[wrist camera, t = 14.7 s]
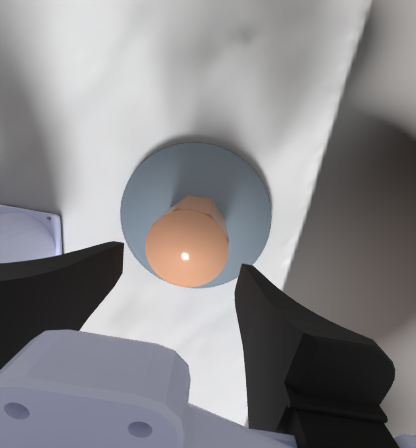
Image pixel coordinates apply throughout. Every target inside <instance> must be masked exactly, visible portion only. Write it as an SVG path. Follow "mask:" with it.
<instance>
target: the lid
mask: <svg viewBox="0 0 416 448" xmlns="http://www.w3.org/2000/svg"><path fill="white" fill-rule="evenodd" d="M187 195H193V196H198V197H204V198H209V199H212V201H213V202H214V203H215V205H216V206H217V208H218V209H219V211H220V212H221V213H222V215H223V216H224V218H225V223H226V228H227V233H228V238H229V243H228V258H227V262H226V264H225V267H224V268H223V270H222V271H221V273H220V274H219V275H218V276H217V277H216V278H215V279H213V280H212V281H210V282H208V283H206V284H204V285H201V286H197V287H187V288H208V287H214V286H218V285H222V284H224V283H227V282H229V281H231V280H233V279H235V278H237V277H238V276H239V272H240V268H241V265H242V264H248V265H253V264H254V263H255V262H256V260H257V259H258V257H259V256H260V255H261V253H262V251H263V249H264V247H265V245H266V243H267V240H268V237H269V233H270V228H271V207H270V202H269V197H268V195H267V192H266V189H265V187H264V185H263V183H262V181H261V179H260V178H259V177H258V175H257V174H256V172H255V171H254V170H253V169H252V168H251V167H250V166H249V165H248V164H247V163H246V162H245V161H244V160H243V159H241V158H240V157H239V156H237V155H236V154H234V153H232V152H230V151H229V150H226V149H224V148H221V147H219V146H215V145H211V144H206V143H182V144H176V145H173V146H170V147H167V148H164V149H162V150H160V151H158V152H156V153H154V154H153V155H151V156H150V157H149V158H147V159H146V160H145V161H144V162H143V163H142V164H141V165H139V167H138V168H137V169H136V170H135V172H134V173H133V174H132V176H131V178H130V179H129V181H128V183H127V185H126V188H125V190H124V193H123V197H122V201H121V210H120V213H121V225H122V230H123V234H124V237H125V240H126V242H127V244H128V247H129V248H130V250H131V252H132V253H133V255H134V256H135V257H136V259H137V260H138V261H139V262H140V263H141V264H142V265H143V266H144V267H145V268H146V269H147V270H148V271H149V272H151V273H152V274H153V275H155V276H157V277H158V278H160V277H159V276H158V275H157V274H156V273H155V272H154V270H153V269H152V268H151V266H150V264H149V262H148V260H147V257H146V251H145V243H146V238H147V235H148V233H149V231H150V226H152V225H153V224H154V223H155V222H156V221H157V220H158V219H159V218H160V217H161V216H162V215H163V214H164V213H165V212H166V211H167V210H168V209H169V208H170V207H172V206H173V205H174V204H176V203H177V202H179V201H180V200H181V199H183V198H184V197H186V196H187ZM160 279H162V278H160ZM162 280H163V279H162ZM164 281H165V280H164Z"/></svg>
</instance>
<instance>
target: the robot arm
mask: <svg viewBox="0 0 416 448" xmlns="http://www.w3.org/2000/svg"><path fill="white" fill-rule="evenodd" d="M49 217H51V219H50V218H49ZM123 252H124V243H121V242H115V241H112V242H107V243H103V244H99V245H96V246H92V247H89V248H85V249H82V250H78V251H74V252H70V253H66V254H62V243H61V222H60V217H59V216H58V215H56V214H51V213H46V212H40V211H34V210H29V209H23V208H17V207H11V206H6V205H0V448H416V435H410V434H398V435H395V436H393V437H392V435H391V434H390V432H389V431H388V429H387V428H386V426H385V424H384V423H386V422H387V421H388V419H387V416H386V415H385V413H384V412H383V410H382V409H381V408H380V406H379V405H380V404H381V402H382V400H383V399H384V397H385V396H386V394H387V392H388V391H389V389H390V388H391V386H392V384H393V381H394V378H395V368H394V364H393V362H392V361H391V360H390V358H389V357H388V356H387V355H386V354H385V353H384V351H383V350H382V349H381V348H380V347H379V346H378V345H377V344H376V342H375V341H374V340H372V339H370V338H367V337H365V336H363V335H360V334H357V333H355V332H353V331H351V330H348V329H346V328H343V327H341V326H339V325H337V324H335V323H333V322H331V321H329V320H327V319H325V318H323V317H321V316H319V315H317V314H315V313H314V312H312V311H310V310H309V309H307V308H305V307H304V306H302V305H300V304H299V303H297V302H296V301H294V300H293V299H292V298H290V297H289V296H287V295H286V294H285V293H283V292H282V291H281V290H280V289H278V288H277V287H276V286H275V285H274V284H272V283H271V282H270V281H269V280H268V279H267V278H266V277H265V276H264V275H263V274H261V273H260V272H259V271H258V270H257V269H256V268H255V267H254V266H252V265H248V264H242V265H241V268H240V272H239V276H238V280H237V284H236V288H235V307H236V313H237V318H238V323H239V328H240V333H241V339H242V344H243V351H244V362H245V373H246V387H247V403H248V421H249V428H246V427H244V426H242V425H239V424H237V423H235V422H232V421H230V420H228V419H225V418H223V417H221V416H218V415H216V414H214V413H211V412H209V411H207V410H204V409H202V408H200V407H197V406H195V405H193V404H190V403H188V398H189V389H190V374H189V367H188V364H187V363H186V362H185V361H184V360H183V359H182V358H181V357H180V356H179V355H178V354H177V353H176V351H174V350H172V349H169V348H167V347H164V346H161V345H159V344H155V343H149V342H143V341H137V340H131V339H124V338H118V337H112V336H106V335H100V334H93V333H87V332H81V331H79V330H80V329H81V327H82V326H83V324H84V323H85V322H86V320H87V319H88V318H89V317H90V315H91V314H92V313H93V312H94V310H95V309H96V308H97V307H98V306H99V304H100V303H101V302H102V301H103V300H104V298H105V297H106V296H107V295H108V294H109V292H110V291H111V290H112V289H113V287H114V286H115V284H116V283H117V281H118V280H119V278H120V276H121V274H122V271H123Z"/></svg>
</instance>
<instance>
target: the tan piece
mask: <svg viewBox="0 0 416 448" xmlns="http://www.w3.org/2000/svg"><path fill="white" fill-rule="evenodd" d="M228 243H229V238H228V233H227V228H226V223H225V218H224V216H223V215H222V213H221V212H220V211H219V209H218V208H217V206H216V205H215V203H214V202H213V201H212V199H209V198H204V197H198V196H193V195H187V196H186V197H184V198H183V199H181V200H180V201H179V202H177V203H176V204H174V205H173V206H172V207H170V208H169V209H168V210H167V211H166V212H165V213H164V214H163V215H162V216H161V217H160V218H159V219H158V220H157V221H156V222H155V223H154V224H153V225H152V226H150V231H149V233H148V235H147V238H146V243H145V251H146V257H147V260H148V262H149V264H150V266H151V268H152V269H153V270H154V272H155V273H156V274H157V275H158V276H159V277H160V278H162V279H163V280H165V281H166V282H168V283H170V284H173V285H176V286H180V287H197V286H201V285H204V284H206V283H208V282H210V281H212V280H213V279H215V278H216V277H217V276H218V275H219V274H220V273H221V271H222V270H223V268H224V267H225V264H226V262H227V258H228Z"/></svg>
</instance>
